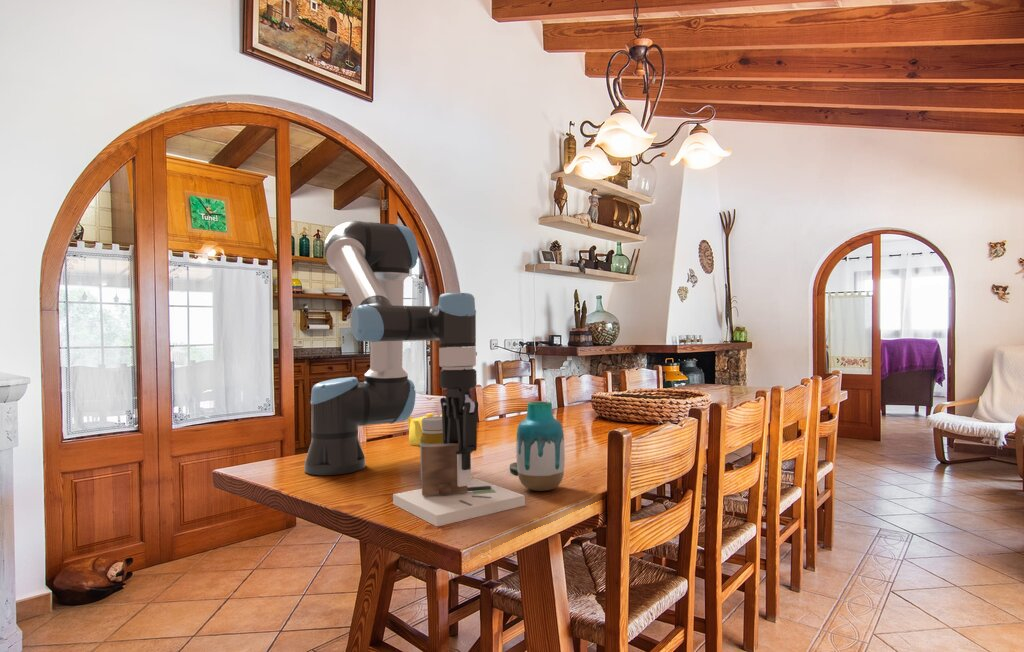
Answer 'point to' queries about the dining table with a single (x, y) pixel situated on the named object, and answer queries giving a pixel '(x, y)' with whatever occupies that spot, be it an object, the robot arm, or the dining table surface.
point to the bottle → (431, 432)
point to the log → (513, 468)
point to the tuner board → (458, 503)
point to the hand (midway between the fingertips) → (459, 483)
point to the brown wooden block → (441, 470)
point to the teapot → (416, 429)
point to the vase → (540, 448)
